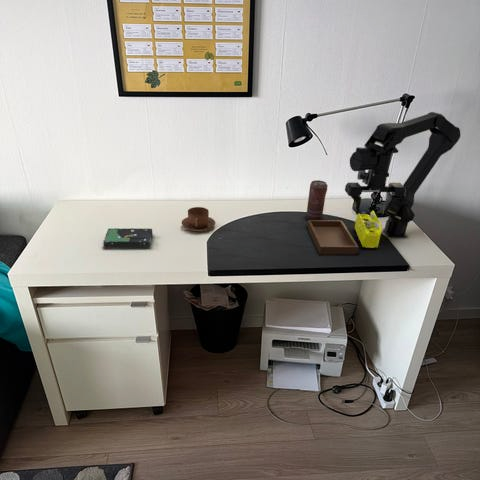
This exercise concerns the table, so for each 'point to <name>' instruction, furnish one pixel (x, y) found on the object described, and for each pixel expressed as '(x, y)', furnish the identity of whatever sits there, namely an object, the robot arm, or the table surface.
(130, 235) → the disk drive
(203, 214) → the cup and saucer
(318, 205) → the can
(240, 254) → the table surface
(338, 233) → the tray
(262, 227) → the table surface
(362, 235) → the yellow toy chassis
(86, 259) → the table surface
